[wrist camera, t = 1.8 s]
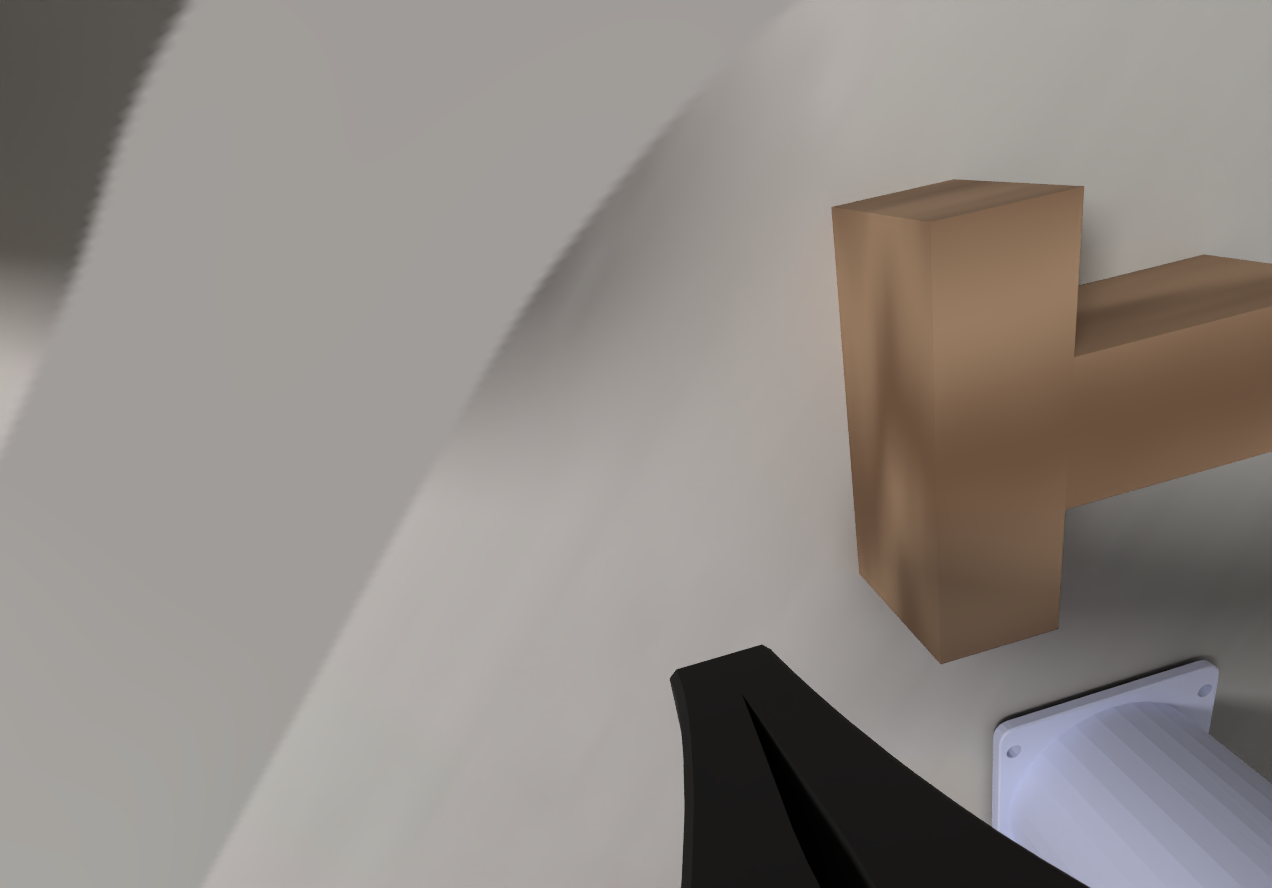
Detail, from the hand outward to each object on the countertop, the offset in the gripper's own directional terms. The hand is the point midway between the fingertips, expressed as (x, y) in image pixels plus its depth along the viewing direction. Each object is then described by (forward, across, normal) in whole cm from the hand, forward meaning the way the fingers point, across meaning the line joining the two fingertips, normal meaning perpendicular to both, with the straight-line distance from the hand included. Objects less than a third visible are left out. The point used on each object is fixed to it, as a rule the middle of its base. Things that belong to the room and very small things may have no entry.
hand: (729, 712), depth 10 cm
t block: (+8, -11, 0) cm, 14 cm away
